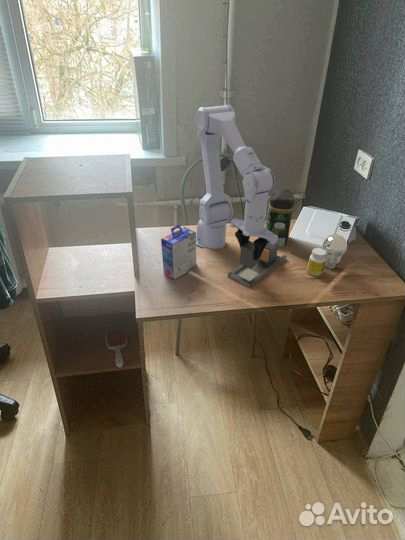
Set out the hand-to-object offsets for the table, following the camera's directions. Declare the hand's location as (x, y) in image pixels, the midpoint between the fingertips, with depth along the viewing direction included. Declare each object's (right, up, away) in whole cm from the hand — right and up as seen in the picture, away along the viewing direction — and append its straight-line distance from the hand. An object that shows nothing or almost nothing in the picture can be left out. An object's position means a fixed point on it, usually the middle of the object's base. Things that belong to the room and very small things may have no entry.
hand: (250, 255), depth 113 cm
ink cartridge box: (-21, -4, +7) cm, 23 cm away
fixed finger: (+6, -1, +10) cm, 12 cm away
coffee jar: (+11, +5, +22) cm, 25 cm away
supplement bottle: (+20, -6, +7) cm, 22 cm away
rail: (+3, -4, +8) cm, 9 cm away
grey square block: (0, -2, +1) cm, 2 cm away
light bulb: (+26, -4, +9) cm, 28 cm away
